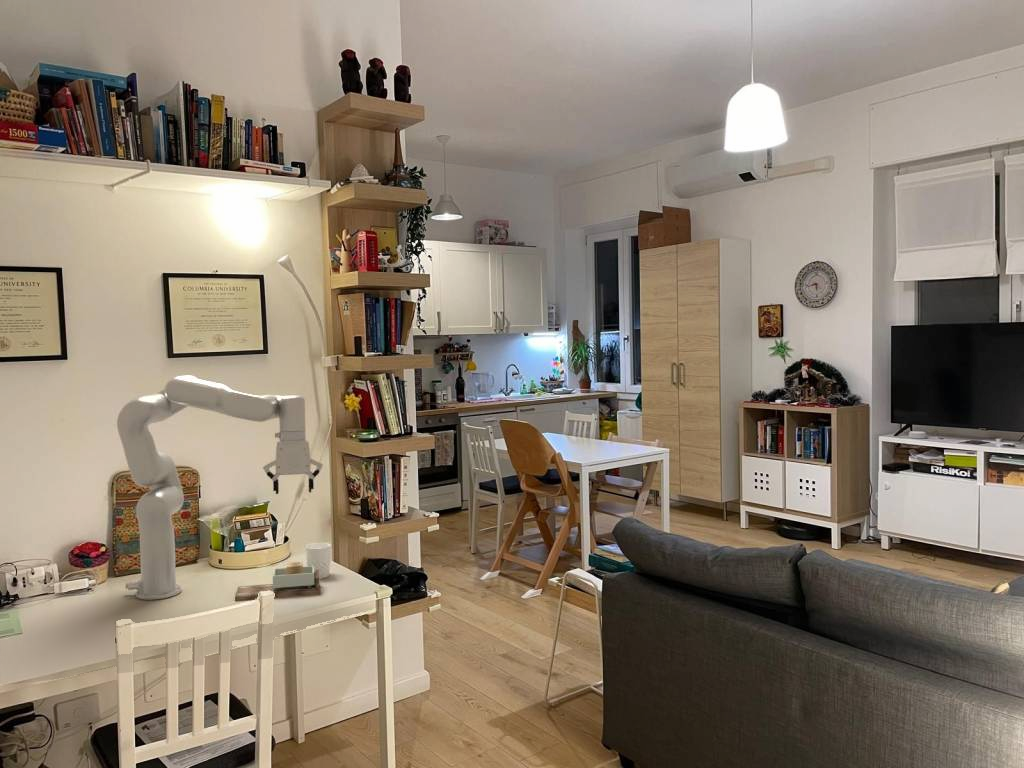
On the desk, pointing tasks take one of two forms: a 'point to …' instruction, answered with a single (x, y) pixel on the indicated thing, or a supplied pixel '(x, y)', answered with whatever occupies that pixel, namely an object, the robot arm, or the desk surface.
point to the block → (295, 568)
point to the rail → (253, 591)
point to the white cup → (319, 558)
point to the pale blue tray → (293, 578)
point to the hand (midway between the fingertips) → (293, 492)
